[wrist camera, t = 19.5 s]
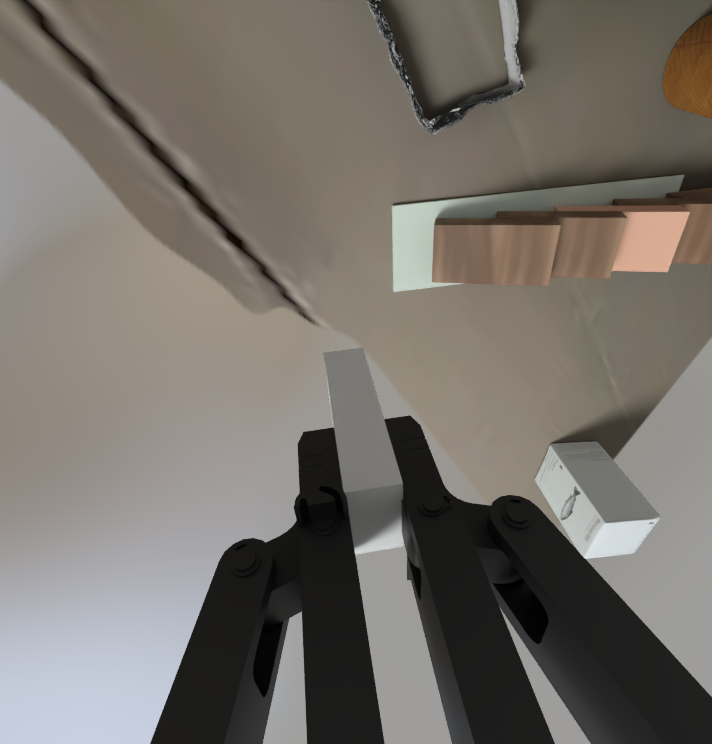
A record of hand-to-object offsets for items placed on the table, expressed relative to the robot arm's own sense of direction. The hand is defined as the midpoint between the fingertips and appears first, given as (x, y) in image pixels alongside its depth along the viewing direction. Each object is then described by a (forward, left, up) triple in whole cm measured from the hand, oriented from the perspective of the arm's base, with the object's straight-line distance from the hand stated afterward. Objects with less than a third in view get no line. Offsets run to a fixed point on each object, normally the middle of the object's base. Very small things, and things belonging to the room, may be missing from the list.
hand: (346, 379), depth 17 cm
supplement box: (+37, +31, -25) cm, 54 cm away
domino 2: (+4, +16, -23) cm, 29 cm away
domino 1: (+4, +10, -23) cm, 26 cm away
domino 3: (+4, +22, -23) cm, 32 cm away
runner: (+4, +20, -24) cm, 32 cm away
